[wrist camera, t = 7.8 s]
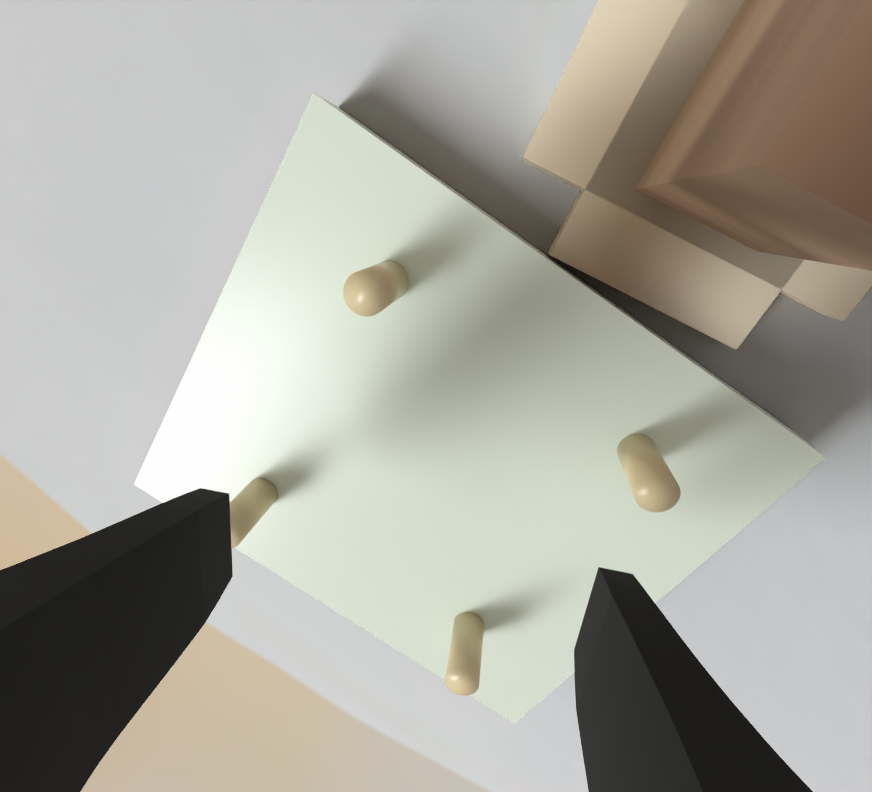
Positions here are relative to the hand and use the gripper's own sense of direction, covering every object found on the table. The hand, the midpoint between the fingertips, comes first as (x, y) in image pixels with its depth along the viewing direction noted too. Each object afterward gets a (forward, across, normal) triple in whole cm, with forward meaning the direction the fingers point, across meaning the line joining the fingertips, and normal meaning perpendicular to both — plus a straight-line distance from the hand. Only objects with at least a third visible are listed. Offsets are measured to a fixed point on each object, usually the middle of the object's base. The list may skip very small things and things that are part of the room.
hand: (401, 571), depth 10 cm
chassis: (+5, 0, 0) cm, 5 cm away
